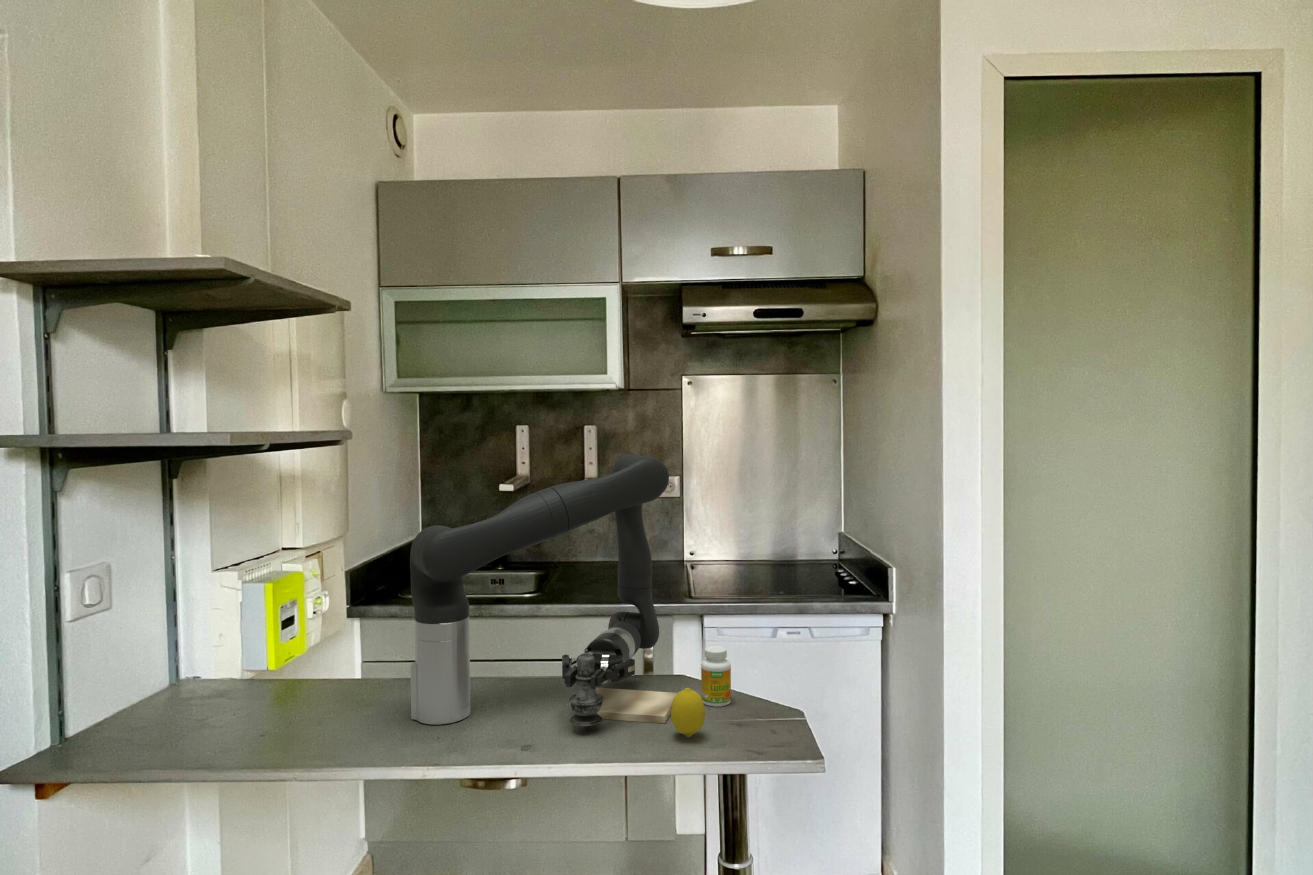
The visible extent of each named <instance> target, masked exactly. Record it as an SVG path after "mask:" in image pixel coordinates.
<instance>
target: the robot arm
mask: <svg viewBox="0 0 1313 875" xmlns="http://www.w3.org/2000/svg"><path fill="white" fill-rule="evenodd" d="M669 481H670V473H669V470H668V468H667V467H666V465H665V463H663V462H662V461H660V460H659V459H657V458H655V457H652V456H648V455H639V454H624V455H623V456H621V457H619V458H618V459H617V460H616V461H615V463H614V464H613V466H612V470H611V473H610V474H608V475H605V476H602V477H597V478H592V479H591V478H590V479H585V480H578V481H577V480H576V481H570V482H565V483H560V484H556V485H553V486H549V487H547V488H543V489H541V490H539V491H536V492H533V493H530V494H527V495H526V496H524V497H522V498H520V499H518V500H516V501H515V502H513V503H512V504H510V505H508V507H506V508H505V509H503V510H502V511H500V512H499V513H497V514H495V515H492V516H491V517H489V518H486V519H484V520H480V521H477V522H474V523H471V524H470V523H469V524H466V525H462V526H458V527H457V526H456V527H453V528H452V527H449V526H445V525H438V524H436V525H431V526H427V527H425V528H423V529H422V530H421V531H420V532H418V533H417V535H415V538H414V539H413V541H412V543H411V547H410V552H409V553H410V555H409V569H410V570H409V571H410V593H411V602H412V605H413V608H414V609H413V610H414V639H415V640H414V642H415V644H414V645H415V646H414V647H415V661H414V662H412V663H411V664H410V720H416V721H417V722H420V723H422V724H425V725H447V724H452V723H456V722H459V721H462V720H464V719H466V718H467V717H469V716H470V715H471V703H472V702H471V660H470V659H471V654H470V653H471V652H470V650H471V649H470V647H471V645H470V642H471V641H470V639H471V638H470V637H471V636H470V603H469V600H468V598H467V595H466V592H465V588H464V583H463V582H464V581H463V579H464V578H463V577H465V576H467V575H469V574H470V573H472V572H474V571H476V570H478V569H480V568H482V567H483V566H486V565H487V564H488V565H489V563H492V562H493V561H495V560H497V559H500V558H502V557H503V556H506V555H509V554H512V553H514V552H519V551H521V550H525V549H527V548H530V547H533V546H536V545H538V544H540V543H543V542H547V541H549V540H552V539H554V538H556V537H558V536H559V537H560V536H561V535H564V534H567V533H569V532H571V531H573V530H575V529H578V528H580V527H582V526H586V525H587V524H590V523H592V522H594V521H596V520H599V519H601V518H603V517H605V516H607V515H610V514H612V513H614V515H615V516H614V517H615V524H616V525H615V526H616V533H617V534H616V535H617V551H618V554H617V556H618V557H617V558H618V559H617V560H618V563H617V597H618V599H619V600H620V601H622V602H624V603H628V604H630V605H632V606H635V608H637V610H638V612H632V611H617V612H614V613H613V614H612V615H611V617H610V618H609V622H608V625H607V628H608V629H606V630H604V631H602V633H600V634H598V636H597V637H596V638H594V639H593V640H592V641H591V642H590V643H588V645H587V646H586V647H585V648H586V649H587V650H588V651H587V653H589V654H592V655H593V656H594V659H595V673H594V674H593V675H592V676H591V689H596V688H599V687H601V686H603V684H606V683H608V681H611V683H614V684H616V683H619V682H621V681H623V680H625V679H628V678H630V677H632V676H634V675H635V674H636V659H634V658H633V657H634V656H635V654H636V653H637V652H638V651H639V649H642V650H643V649H645V650H650V649H652V648H653V647H654V646H655V645H656V644H657V642H658V640H659V637H660V626H659V620H658V617H657V614H656V609H655V605H654V599H653V593H652V592H653V590H652V588H653V582H652V581H653V561H652V560H653V559H652V554H651V549H650V544H649V542H648V537H647V535H646V530H645V527H644V521H643V520H644V519H643V504H647V503H651V502H652V501H656V500H657V499H658V498H659V497H661V496H662V495H663V493H664V492H665V491H666V490H667V487H668V485H669ZM583 653H585V651H583ZM578 657H579V655H578V656H577V657H576V658H572V656H570V655H569V654H563V655H562V656H561V671H562V672H561V673H562V674H561V676H562V679H563V680H564V685H565V686H566V687H567V688H572V687H573V686H574V685H575V684H577V678H576V677H575V675H576V674H577V659H578Z"/></svg>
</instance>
